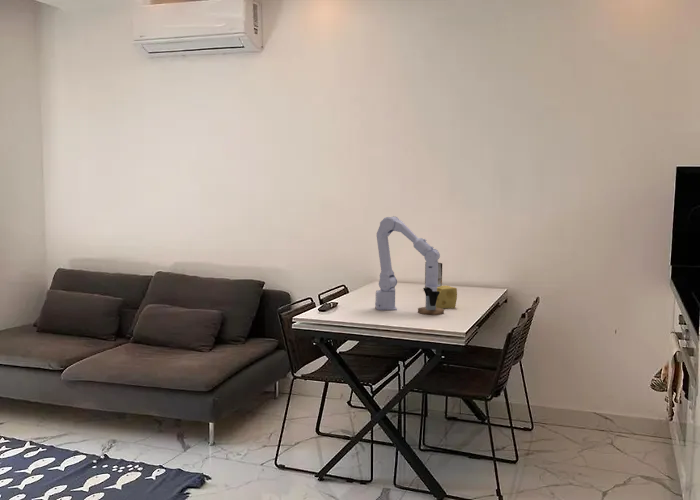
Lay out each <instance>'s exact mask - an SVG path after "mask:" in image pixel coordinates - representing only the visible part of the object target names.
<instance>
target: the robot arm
mask: <svg viewBox="0 0 700 500" xmlns="http://www.w3.org/2000/svg"><path fill="white" fill-rule="evenodd" d="M393 232H399V233H401V234H402V235H404V236H405V237H406V238H407V239H408V240H409V241H410V242H412V244H413V248H414V249H415V250H416V251H417V252H419V254H421V256H423V258H424V260H425V262H426V281H425V280H424V287H423V291H424V295H425V297H426V296H429V300H430V306H435V304H436V300H437V297H438V295H439V293H440V292H439V291H437V287H440V285H438V263H439V259H440V257H441V254H440V252H439V250H438V249H437V248H434V246H431V245H430V244H429V243H428V242H427V239H426V238H423V237H418V236H417V235H416V234H415V233H414V232H413V231H412V230H411V229H410V228H409V226H407V225H406V224H405V222H404V221H402V220H401V219H400V218H398V216H394V215H393V216H386V217H384V218H383V219H382V220H381V221H380V222H379V227H378V229H377V232H376V240H377V249H378V257H379V265H380V274H379V281H378V286H379V290H376V291H375V302H374V303H375V304H374V307H375V308H376V310H379V311H383V310H384V311H385V310H386V311H387V310H388V311H391V310H393V311H394V310H395V311H397V309H398V308H397V307H396V287H397V284H398V279H397V278H396V274H395V272H394V270H393V267H392V260H391V259H392V258H391V253H390V252H391V251H390V245H389V236H390V235H391V234H392V233H393ZM425 287H427V288H425Z"/></svg>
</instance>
